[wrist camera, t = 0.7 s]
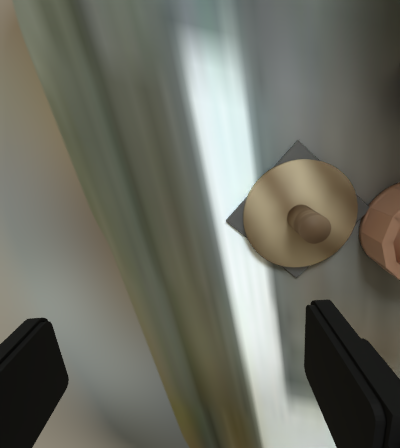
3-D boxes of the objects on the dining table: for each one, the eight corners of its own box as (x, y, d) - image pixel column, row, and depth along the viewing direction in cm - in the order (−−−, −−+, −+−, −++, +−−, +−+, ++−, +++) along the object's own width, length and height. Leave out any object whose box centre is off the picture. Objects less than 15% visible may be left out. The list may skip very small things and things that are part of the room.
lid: (298, 134, 30) (319, 131, 24) (376, 207, 32) (412, 221, 27) (220, 221, 34) (223, 237, 28) (296, 282, 36) (313, 308, 30)
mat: (297, 140, 31) (298, 140, 30) (369, 207, 33) (371, 208, 33) (226, 220, 34) (226, 221, 34) (295, 276, 36) (296, 278, 36)
